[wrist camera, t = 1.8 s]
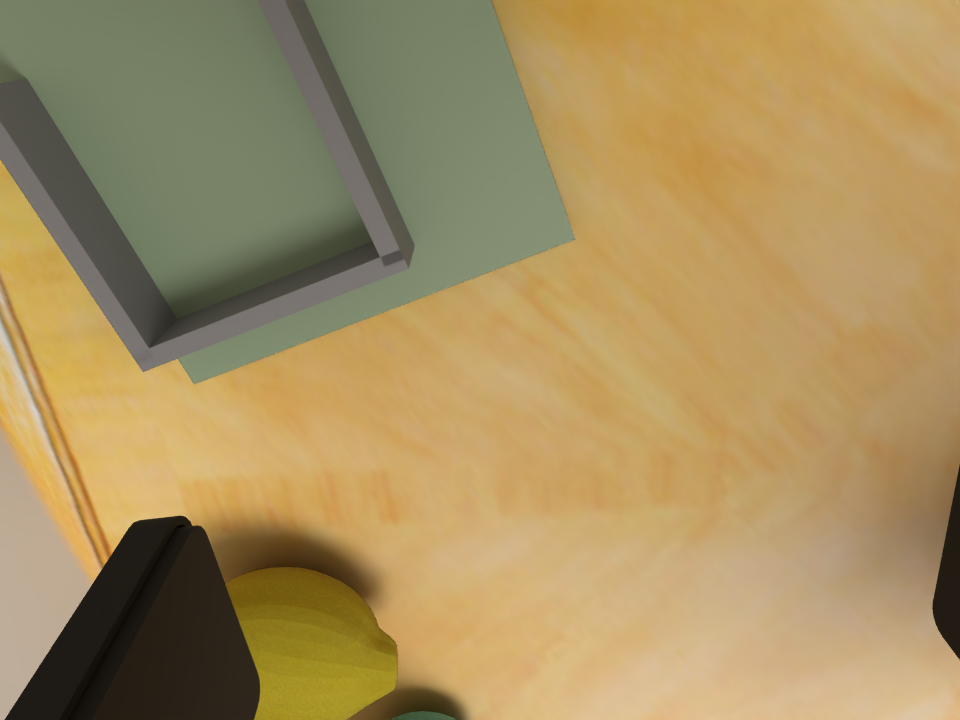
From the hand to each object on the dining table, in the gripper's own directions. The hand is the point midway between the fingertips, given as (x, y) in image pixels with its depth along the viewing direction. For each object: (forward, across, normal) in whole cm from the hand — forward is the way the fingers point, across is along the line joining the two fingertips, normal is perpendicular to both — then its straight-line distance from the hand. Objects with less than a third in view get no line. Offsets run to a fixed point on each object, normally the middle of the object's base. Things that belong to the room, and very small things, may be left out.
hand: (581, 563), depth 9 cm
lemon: (+24, +13, +21) cm, 34 cm away
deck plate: (+24, +8, -3) cm, 25 cm away
